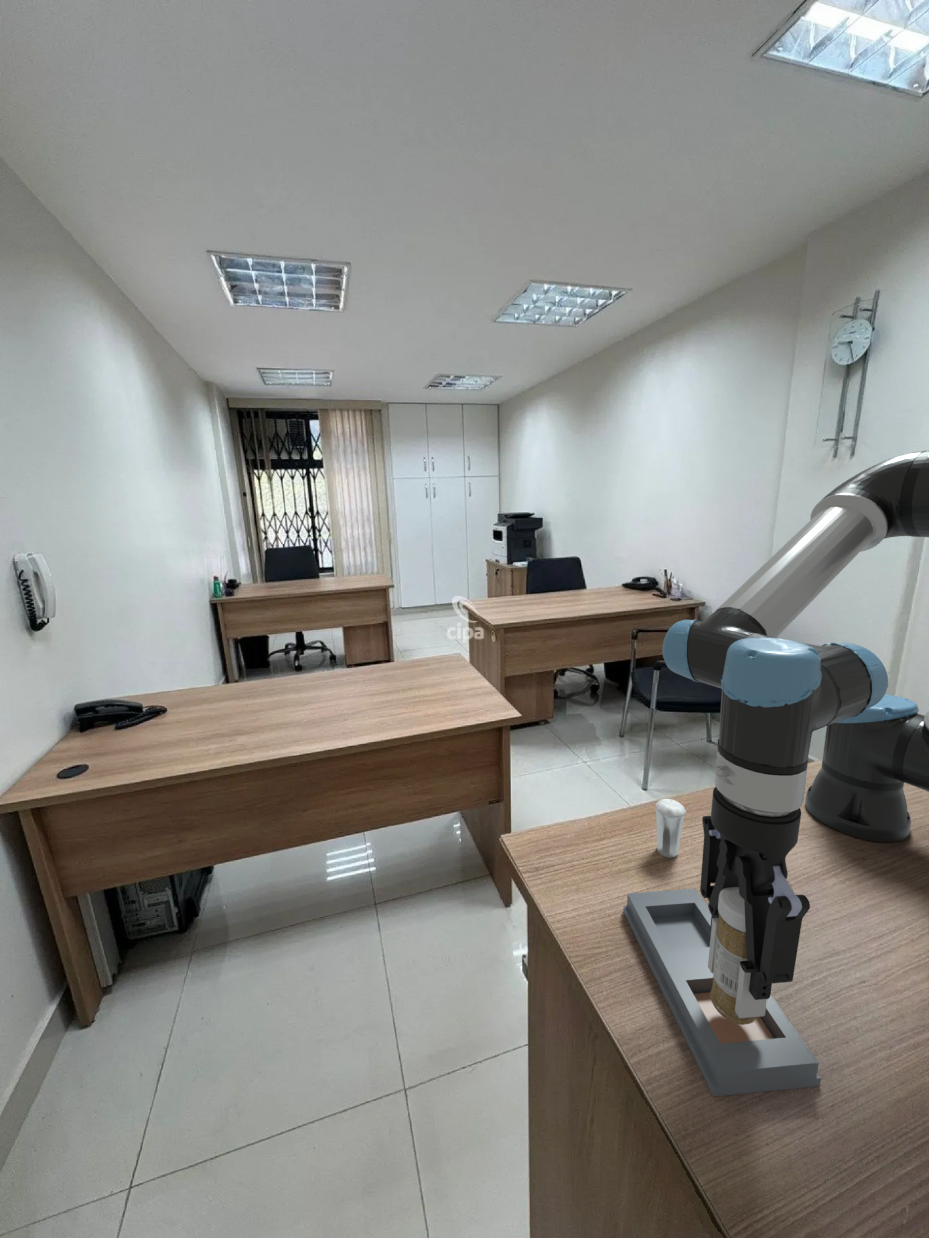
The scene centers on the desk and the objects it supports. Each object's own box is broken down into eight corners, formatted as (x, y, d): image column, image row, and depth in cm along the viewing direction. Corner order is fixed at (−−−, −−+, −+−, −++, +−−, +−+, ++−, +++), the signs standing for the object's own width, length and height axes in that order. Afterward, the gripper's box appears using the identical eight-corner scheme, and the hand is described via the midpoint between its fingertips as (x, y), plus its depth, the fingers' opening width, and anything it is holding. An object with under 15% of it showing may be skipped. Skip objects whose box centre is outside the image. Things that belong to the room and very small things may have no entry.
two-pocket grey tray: (697, 906, 71) (698, 888, 71) (819, 1085, 49) (823, 1062, 48) (623, 911, 71) (624, 893, 70) (712, 1096, 48) (715, 1072, 48)
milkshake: (684, 866, 79) (689, 810, 77) (650, 854, 82) (653, 800, 80) (689, 849, 83) (693, 796, 81) (655, 839, 86) (659, 787, 84)
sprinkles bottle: (764, 1011, 53) (778, 904, 50) (742, 1036, 51) (755, 925, 48) (723, 978, 57) (733, 878, 54) (700, 1000, 54) (710, 896, 52)
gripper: (675, 755, 57) (663, 926, 62) (781, 859, 40) (753, 1084, 44) (738, 751, 57) (721, 922, 62) (869, 852, 40) (831, 1076, 45)
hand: (734, 989), depth 53 cm, fingers closed on sprinkles bottle, 4 cm apart
